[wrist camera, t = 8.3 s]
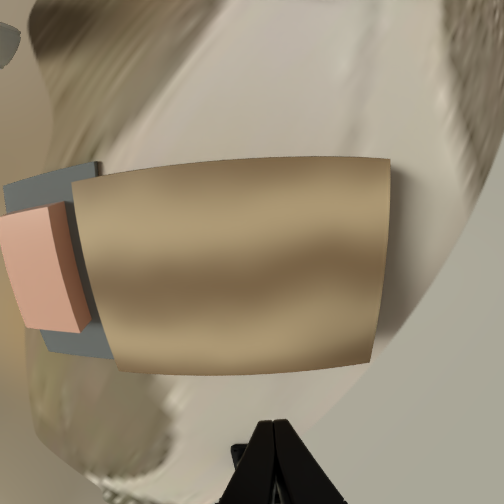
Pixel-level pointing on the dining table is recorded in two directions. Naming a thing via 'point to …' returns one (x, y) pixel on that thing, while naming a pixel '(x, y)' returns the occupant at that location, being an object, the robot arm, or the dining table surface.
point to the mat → (57, 190)
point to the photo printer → (8, 43)
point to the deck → (238, 263)
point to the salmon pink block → (44, 268)
